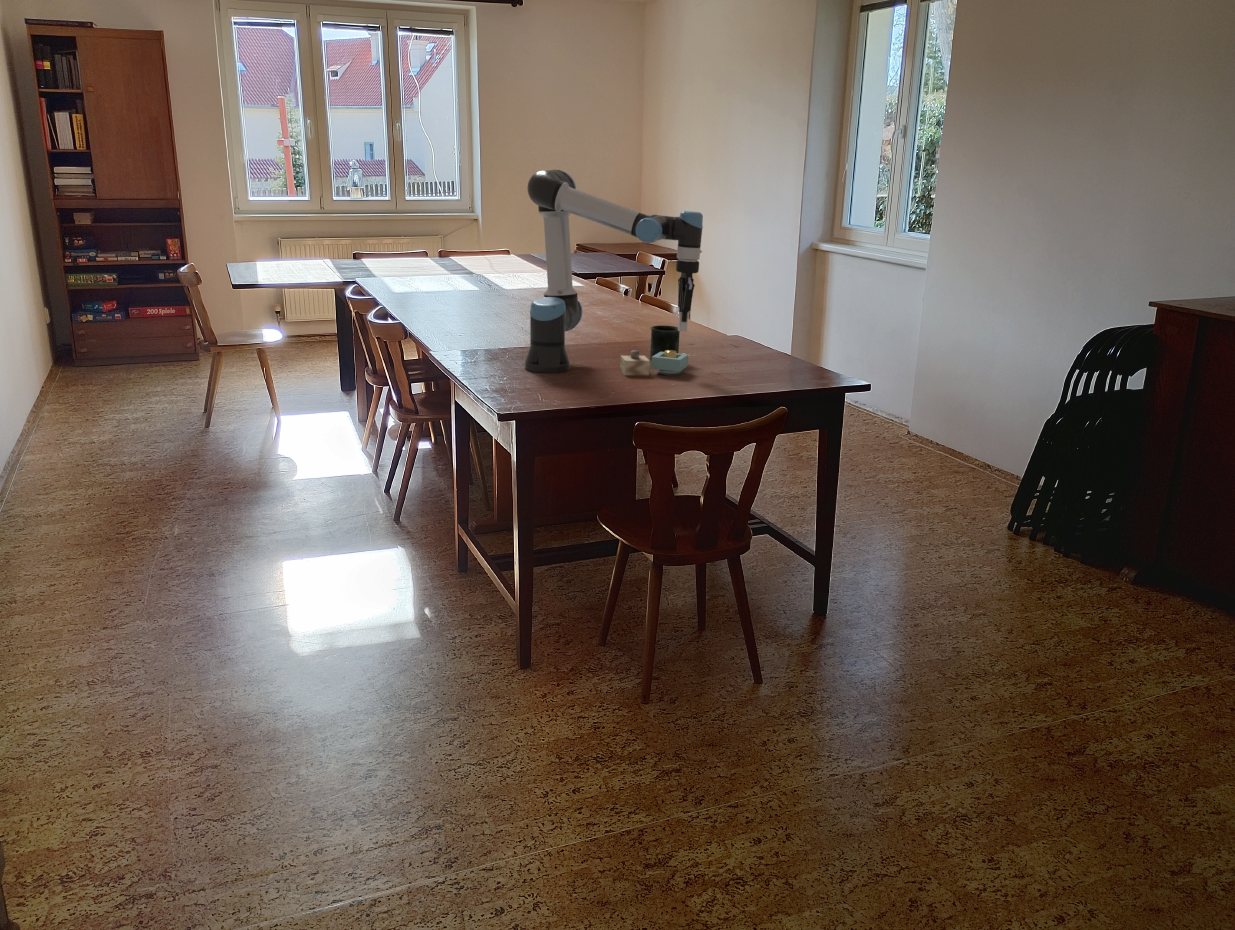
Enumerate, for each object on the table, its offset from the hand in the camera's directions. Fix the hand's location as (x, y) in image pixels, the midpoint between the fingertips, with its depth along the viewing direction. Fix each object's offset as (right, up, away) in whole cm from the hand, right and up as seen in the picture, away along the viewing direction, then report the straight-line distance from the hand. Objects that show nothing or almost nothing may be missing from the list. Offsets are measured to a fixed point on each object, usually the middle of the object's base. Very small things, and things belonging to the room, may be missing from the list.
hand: (682, 330), depth 318 cm
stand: (-16, -14, +2) cm, 21 cm away
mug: (-6, -8, +24) cm, 25 cm away
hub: (-4, -14, +4) cm, 15 cm away
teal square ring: (-4, -12, +3) cm, 13 cm away
